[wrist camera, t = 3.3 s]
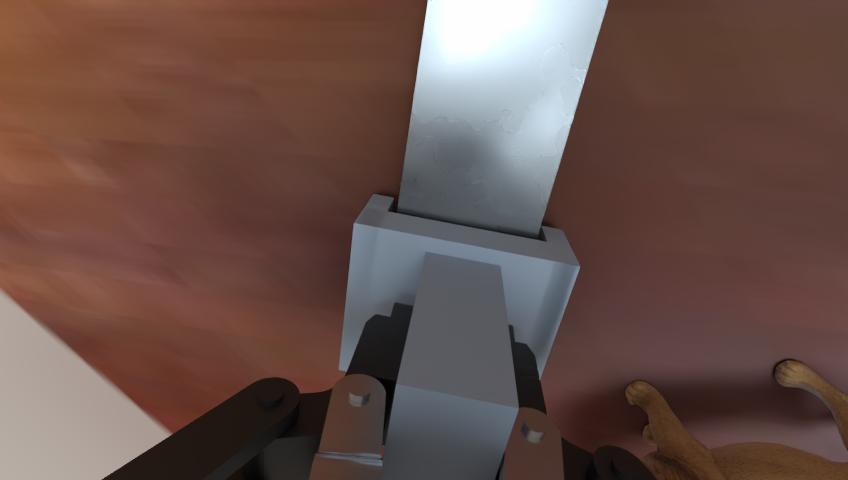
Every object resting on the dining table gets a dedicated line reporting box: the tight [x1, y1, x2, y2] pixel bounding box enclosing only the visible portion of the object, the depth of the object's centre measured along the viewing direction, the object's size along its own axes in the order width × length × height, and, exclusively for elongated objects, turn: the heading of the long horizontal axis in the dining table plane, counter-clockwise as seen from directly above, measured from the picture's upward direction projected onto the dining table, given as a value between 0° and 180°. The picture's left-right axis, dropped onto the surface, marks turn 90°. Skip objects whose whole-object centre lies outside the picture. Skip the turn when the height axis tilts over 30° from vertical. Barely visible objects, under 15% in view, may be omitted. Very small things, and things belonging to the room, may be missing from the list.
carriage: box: [339, 194, 580, 480], centre depth 14 cm, size 7×6×9 cm
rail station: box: [397, 0, 608, 240], centre depth 11 cm, size 8×30×8 cm, turn 171°
